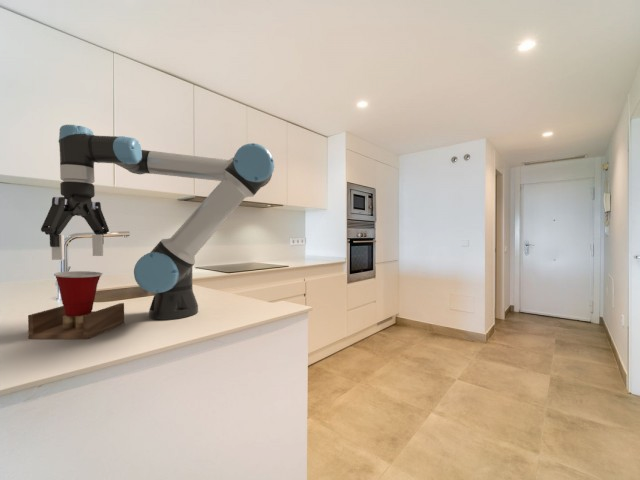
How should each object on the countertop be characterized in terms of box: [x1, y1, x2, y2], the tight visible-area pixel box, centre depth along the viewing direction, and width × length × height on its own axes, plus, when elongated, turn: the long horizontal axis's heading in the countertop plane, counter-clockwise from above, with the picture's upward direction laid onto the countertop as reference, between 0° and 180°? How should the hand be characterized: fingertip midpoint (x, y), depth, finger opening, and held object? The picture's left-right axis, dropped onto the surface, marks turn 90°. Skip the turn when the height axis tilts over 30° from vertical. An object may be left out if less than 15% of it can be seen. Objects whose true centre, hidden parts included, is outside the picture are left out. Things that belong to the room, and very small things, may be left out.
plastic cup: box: [53, 270, 103, 317], centre depth 86 cm, size 11×11×12 cm
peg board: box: [27, 302, 125, 340], centre depth 86 cm, size 16×14×6 cm
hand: (79, 257), depth 85 cm, fingers open, 13 cm apart
